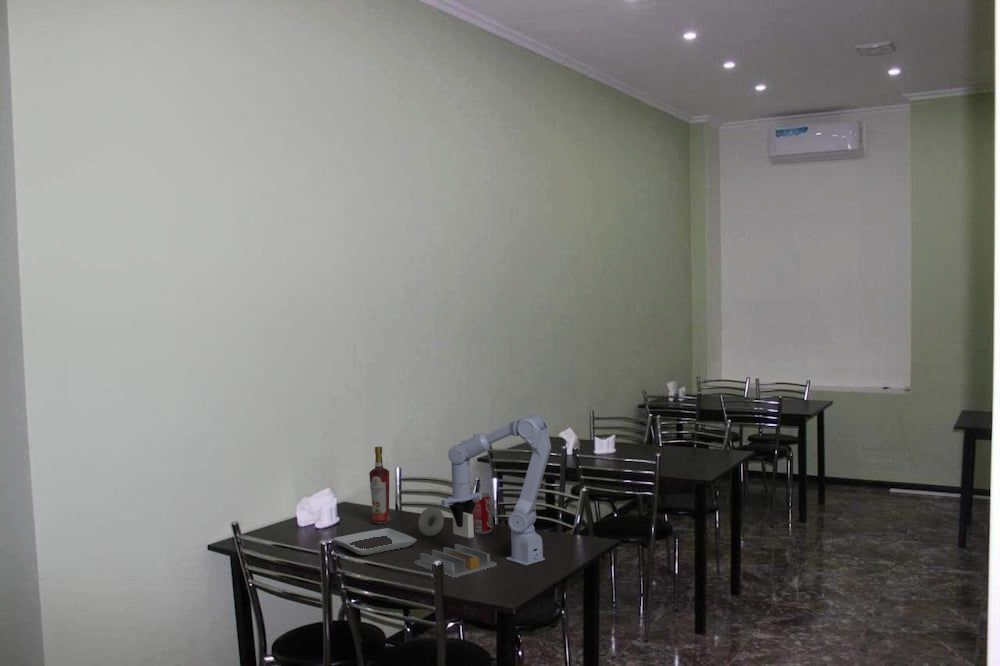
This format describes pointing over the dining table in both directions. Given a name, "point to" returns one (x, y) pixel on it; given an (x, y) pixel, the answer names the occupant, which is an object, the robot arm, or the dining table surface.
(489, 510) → the soda can
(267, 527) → the dining table surface
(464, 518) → the panel
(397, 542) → the salad plate
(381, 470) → the liquor
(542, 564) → the dining table surface
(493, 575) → the dining table surface
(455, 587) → the dining table surface
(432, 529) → the donut
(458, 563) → the rack
